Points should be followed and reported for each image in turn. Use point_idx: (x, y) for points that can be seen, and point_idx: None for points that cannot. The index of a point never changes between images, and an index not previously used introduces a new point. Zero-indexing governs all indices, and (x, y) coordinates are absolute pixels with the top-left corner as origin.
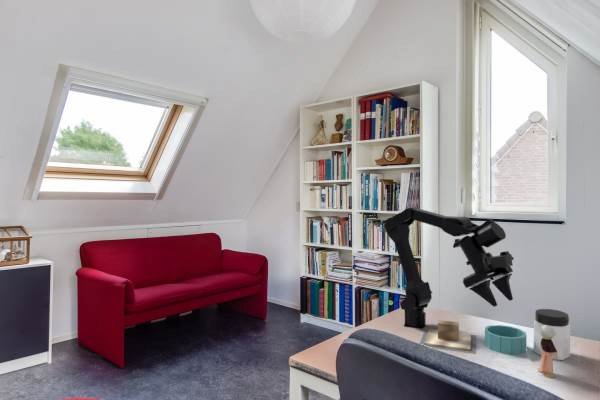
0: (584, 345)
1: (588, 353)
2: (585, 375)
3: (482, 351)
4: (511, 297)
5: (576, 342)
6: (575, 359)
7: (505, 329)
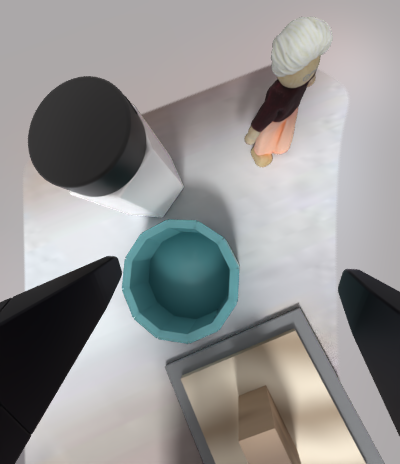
0: None
1: None
2: (214, 100)
3: (257, 305)
4: (107, 262)
5: None
6: None
7: (137, 294)
